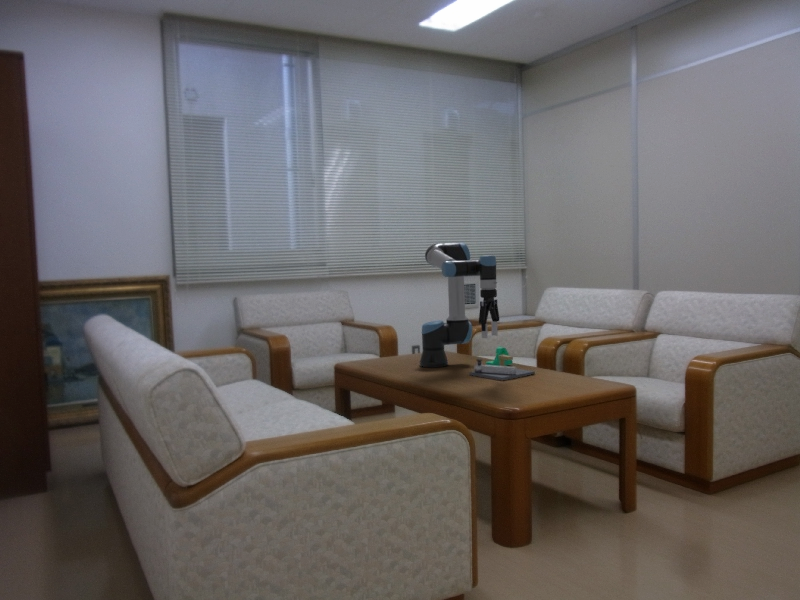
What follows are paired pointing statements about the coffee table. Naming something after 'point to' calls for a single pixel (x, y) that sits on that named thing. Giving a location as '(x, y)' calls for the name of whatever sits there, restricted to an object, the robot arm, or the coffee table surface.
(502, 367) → the link
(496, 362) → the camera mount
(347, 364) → the coffee table surface
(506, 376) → the plate
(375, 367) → the coffee table surface
